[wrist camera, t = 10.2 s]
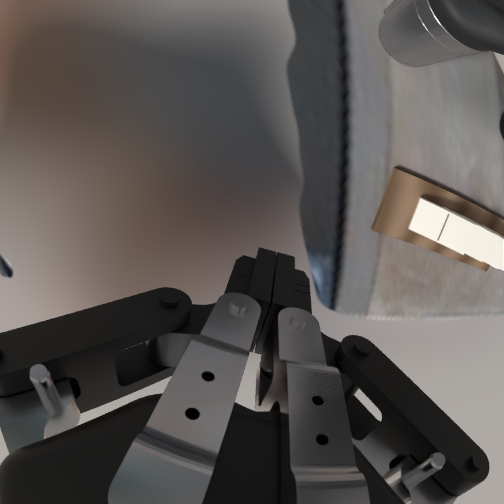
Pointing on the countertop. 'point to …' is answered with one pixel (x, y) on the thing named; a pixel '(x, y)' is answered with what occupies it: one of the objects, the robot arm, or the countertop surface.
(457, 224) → the domino
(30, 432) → the robot arm
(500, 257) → the domino
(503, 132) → the supplement bottle
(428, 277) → the countertop surface
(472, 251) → the domino
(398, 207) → the board
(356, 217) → the countertop surface
